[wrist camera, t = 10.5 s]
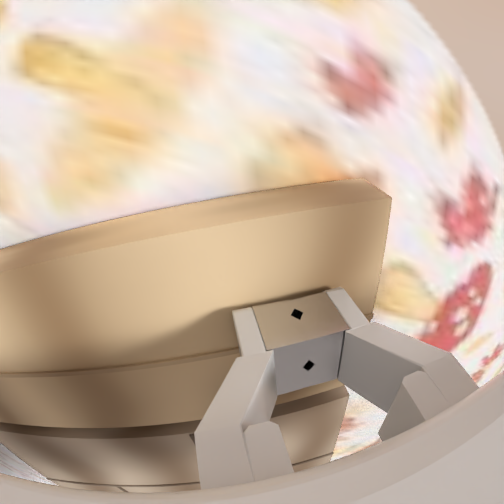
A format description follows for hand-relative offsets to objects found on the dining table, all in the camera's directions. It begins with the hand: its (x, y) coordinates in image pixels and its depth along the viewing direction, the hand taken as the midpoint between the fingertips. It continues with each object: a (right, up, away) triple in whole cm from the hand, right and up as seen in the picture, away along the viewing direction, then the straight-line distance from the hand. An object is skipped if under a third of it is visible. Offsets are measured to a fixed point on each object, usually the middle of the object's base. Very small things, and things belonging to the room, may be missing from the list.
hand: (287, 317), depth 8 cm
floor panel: (-6, -12, +7) cm, 15 cm away
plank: (-7, -2, +1) cm, 7 cm away
